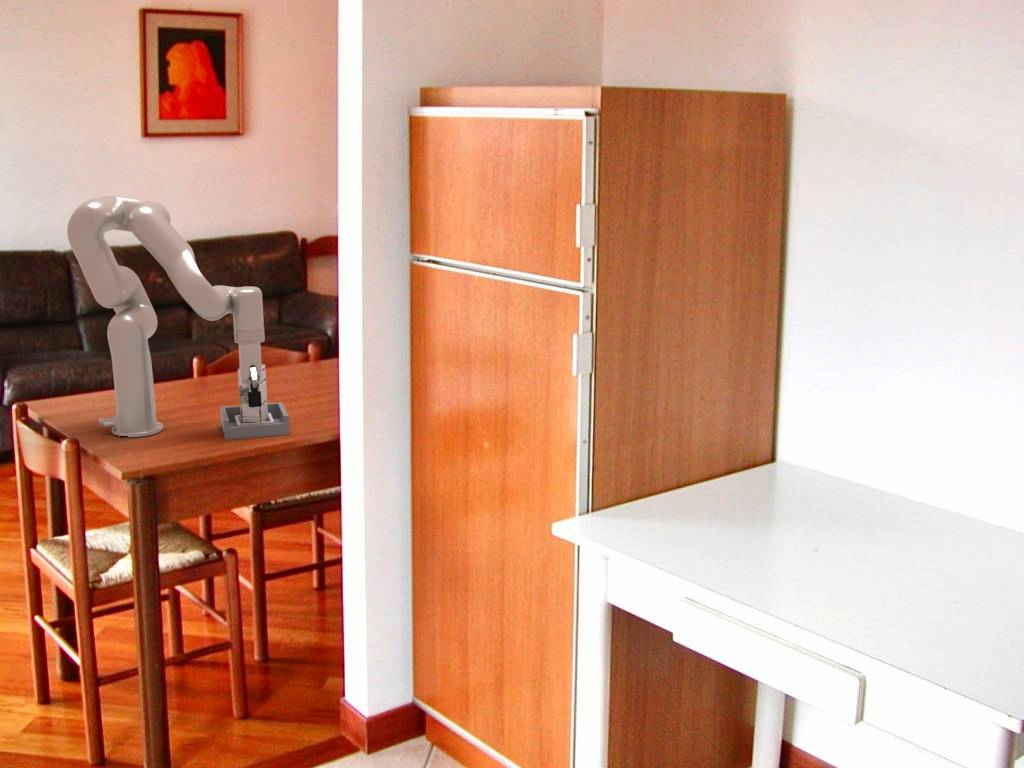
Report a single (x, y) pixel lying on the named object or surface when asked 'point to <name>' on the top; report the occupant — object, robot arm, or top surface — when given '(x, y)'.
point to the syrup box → (247, 412)
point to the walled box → (270, 427)
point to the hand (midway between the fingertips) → (253, 402)
